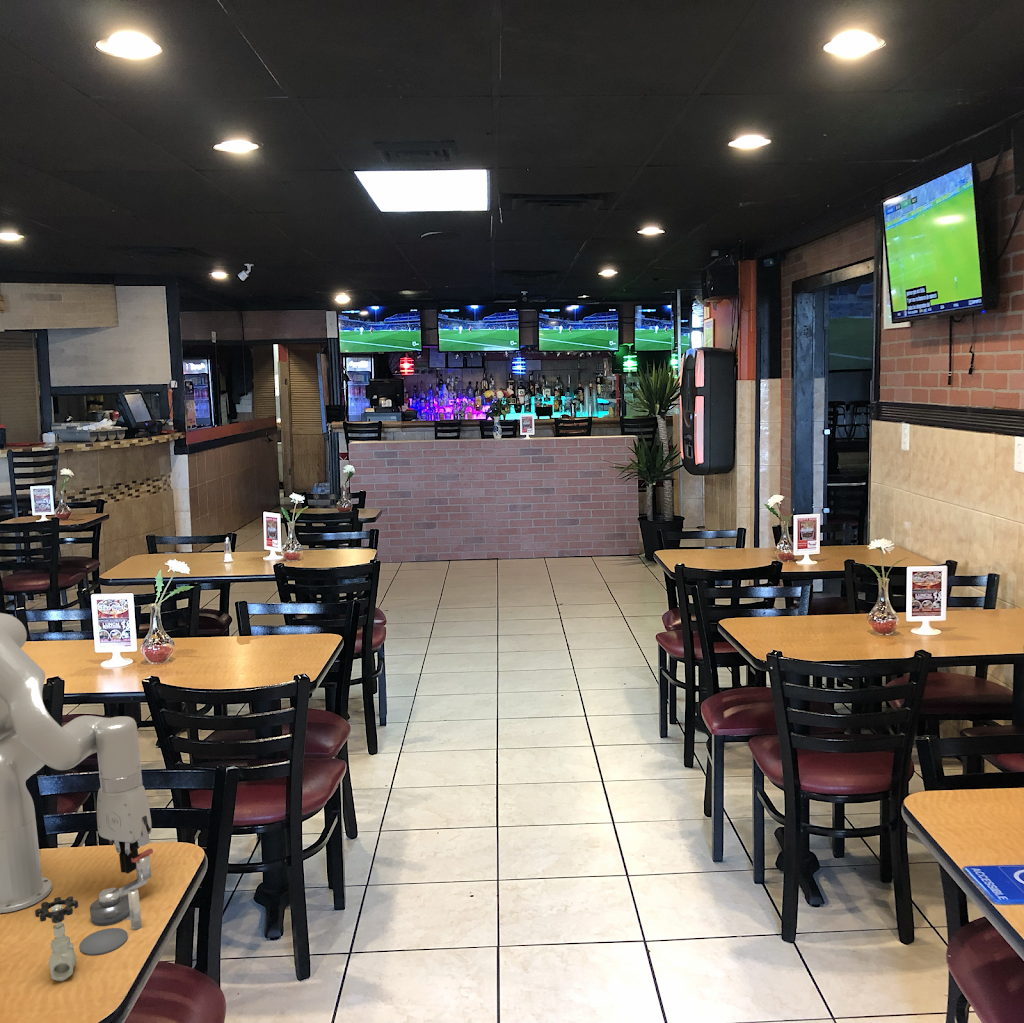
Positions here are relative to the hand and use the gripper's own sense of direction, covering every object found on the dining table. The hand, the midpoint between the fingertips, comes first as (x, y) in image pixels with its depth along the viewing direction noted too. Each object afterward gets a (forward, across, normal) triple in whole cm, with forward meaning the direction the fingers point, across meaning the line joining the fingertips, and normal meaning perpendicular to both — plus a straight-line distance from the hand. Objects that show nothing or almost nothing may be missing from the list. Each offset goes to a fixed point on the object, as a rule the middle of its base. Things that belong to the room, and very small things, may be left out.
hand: (130, 869), depth 184 cm
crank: (+2, +3, -4) cm, 5 cm away
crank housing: (+5, +5, -8) cm, 10 cm away
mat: (+5, +9, -15) cm, 18 cm away
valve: (+5, +9, -24) cm, 27 cm away
